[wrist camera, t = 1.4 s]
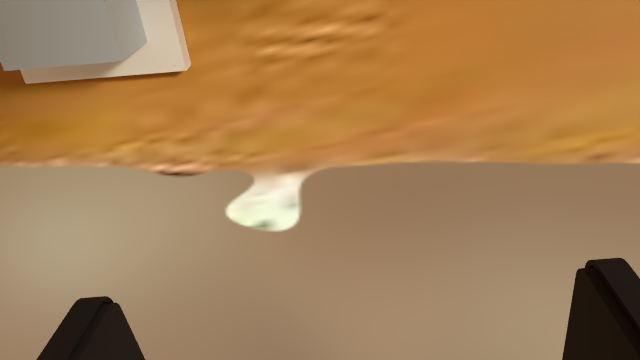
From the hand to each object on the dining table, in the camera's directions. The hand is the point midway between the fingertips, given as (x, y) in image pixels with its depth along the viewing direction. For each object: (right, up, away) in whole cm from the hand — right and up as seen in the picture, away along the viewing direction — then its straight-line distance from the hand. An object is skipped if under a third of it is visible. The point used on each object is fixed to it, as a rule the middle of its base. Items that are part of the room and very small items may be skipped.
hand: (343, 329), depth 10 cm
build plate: (-15, +15, +20) cm, 29 cm away
